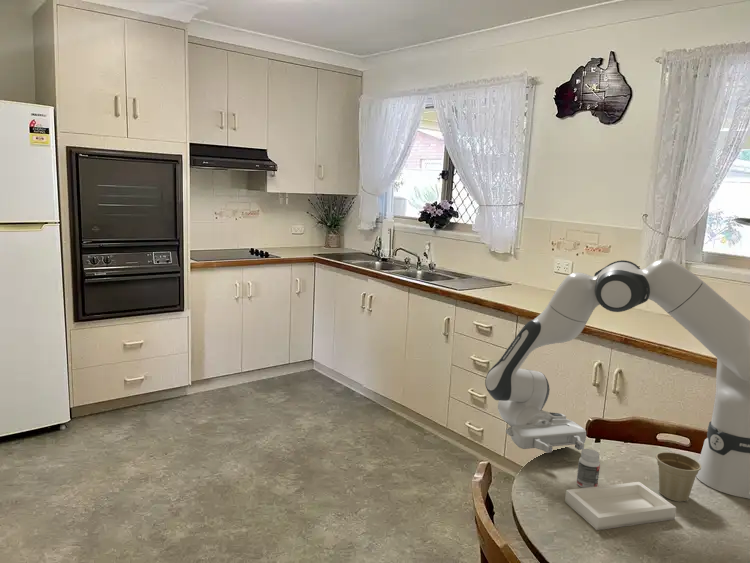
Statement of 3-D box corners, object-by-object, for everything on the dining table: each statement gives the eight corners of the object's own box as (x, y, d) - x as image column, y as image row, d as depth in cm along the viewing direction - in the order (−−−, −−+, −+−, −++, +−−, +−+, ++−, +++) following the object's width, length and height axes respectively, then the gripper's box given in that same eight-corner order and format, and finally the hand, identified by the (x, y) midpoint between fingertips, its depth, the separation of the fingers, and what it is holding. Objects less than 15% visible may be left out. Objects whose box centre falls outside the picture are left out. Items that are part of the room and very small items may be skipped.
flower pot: (645, 482, 136) (649, 449, 135) (685, 486, 135) (690, 453, 134) (660, 503, 127) (665, 468, 126) (703, 508, 126) (709, 472, 125)
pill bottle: (598, 491, 131) (603, 458, 129) (577, 488, 132) (581, 455, 130) (595, 481, 135) (599, 449, 134) (574, 478, 136) (578, 446, 135)
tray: (637, 492, 131) (639, 481, 131) (674, 519, 121) (676, 507, 120) (564, 501, 125) (566, 490, 125) (597, 530, 115) (598, 517, 115)
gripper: (503, 417, 151) (531, 439, 138) (568, 413, 157) (600, 433, 144) (501, 439, 152) (528, 463, 139) (565, 434, 158) (597, 456, 145)
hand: (566, 448), depth 142 cm, fingers open, 8 cm apart
